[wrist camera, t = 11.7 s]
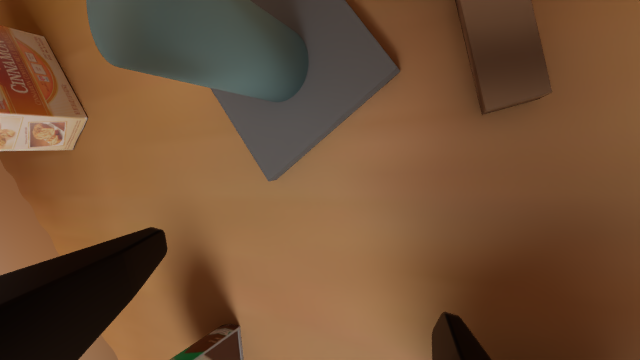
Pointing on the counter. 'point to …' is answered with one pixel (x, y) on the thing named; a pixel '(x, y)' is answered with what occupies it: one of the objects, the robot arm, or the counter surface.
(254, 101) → the mat
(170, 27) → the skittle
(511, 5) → the bar
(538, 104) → the counter surface
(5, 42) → the coffeecake box
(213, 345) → the food container
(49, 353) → the robot arm
